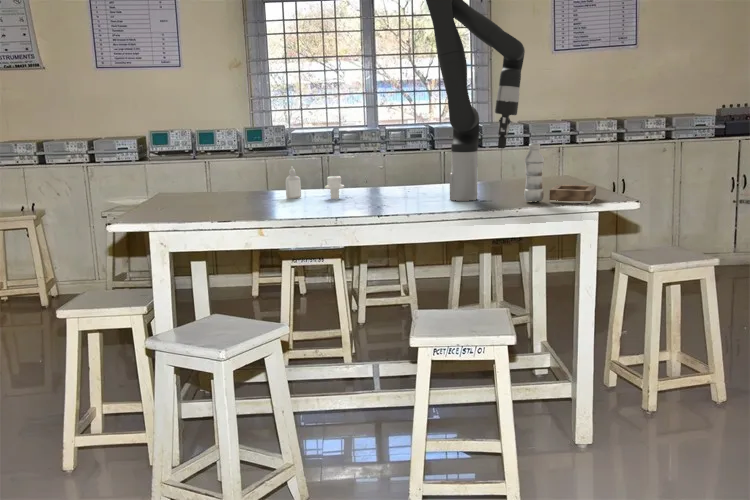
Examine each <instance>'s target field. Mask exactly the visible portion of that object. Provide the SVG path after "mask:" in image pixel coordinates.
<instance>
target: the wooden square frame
mask: <svg viewBox="0 0 750 500" xmlns="http://www.w3.org/2000/svg"><path fill="white" fill-rule="evenodd" d="M595 195H597V186H596V185H580V184H578V185H577V184H556V185H554V186H553V187H552V188H550V189H549V200H556V201H557V200H558V201H591V200H592V199H593V197H594V196H595Z"/></svg>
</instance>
